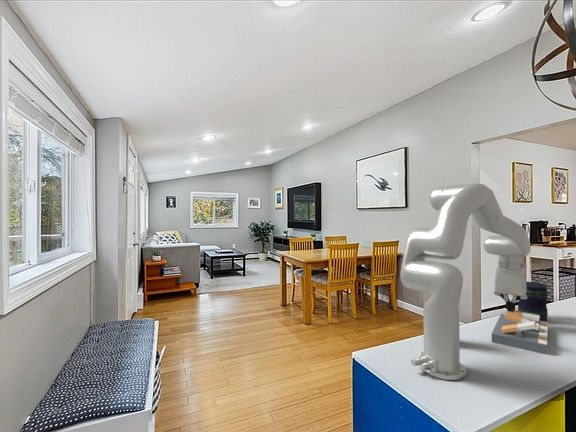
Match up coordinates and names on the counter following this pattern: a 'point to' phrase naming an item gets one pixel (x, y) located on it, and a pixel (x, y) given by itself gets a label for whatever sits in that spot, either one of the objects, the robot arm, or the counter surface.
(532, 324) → the switch
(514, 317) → the switch
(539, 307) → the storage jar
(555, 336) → the counter surface
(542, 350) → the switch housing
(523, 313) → the switch
